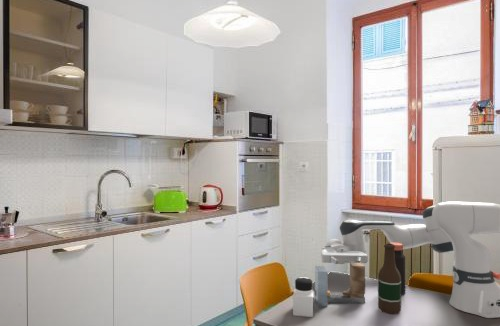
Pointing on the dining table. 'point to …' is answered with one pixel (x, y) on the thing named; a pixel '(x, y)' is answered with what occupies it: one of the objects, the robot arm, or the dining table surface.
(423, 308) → the dining table surface
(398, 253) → the vinegar
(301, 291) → the medicine bottle
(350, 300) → the rail and cabinet
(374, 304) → the dining table surface
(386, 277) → the beer bottle
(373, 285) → the dining table surface
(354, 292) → the carriage
